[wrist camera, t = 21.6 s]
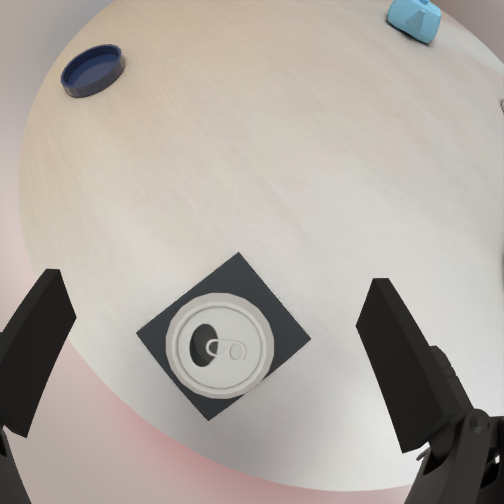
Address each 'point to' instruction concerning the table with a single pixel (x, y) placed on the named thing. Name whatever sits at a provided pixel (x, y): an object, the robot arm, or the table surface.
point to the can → (219, 345)
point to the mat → (242, 285)
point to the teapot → (415, 18)
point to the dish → (92, 70)
